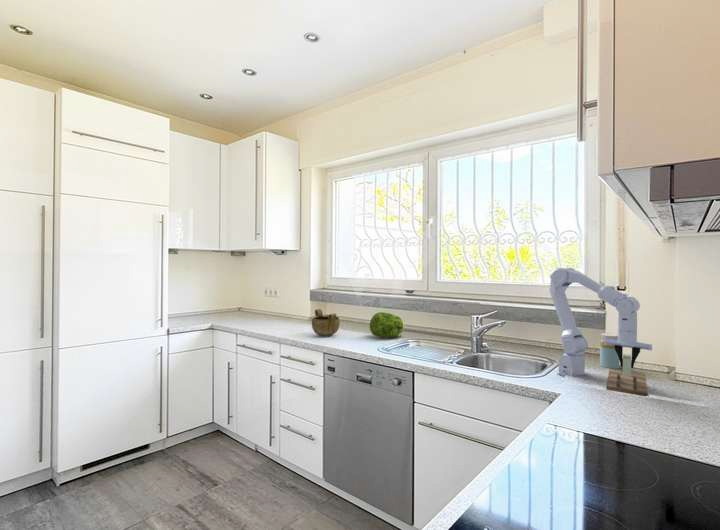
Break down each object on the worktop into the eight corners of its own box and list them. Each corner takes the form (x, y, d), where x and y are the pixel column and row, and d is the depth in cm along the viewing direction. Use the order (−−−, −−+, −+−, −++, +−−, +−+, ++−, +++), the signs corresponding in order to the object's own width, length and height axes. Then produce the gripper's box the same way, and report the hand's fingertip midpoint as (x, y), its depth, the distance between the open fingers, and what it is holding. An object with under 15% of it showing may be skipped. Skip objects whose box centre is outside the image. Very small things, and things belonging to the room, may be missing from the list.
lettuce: (408, 343, 226) (412, 318, 230) (379, 335, 216) (384, 309, 221) (392, 342, 240) (396, 318, 244) (364, 334, 230) (369, 309, 234)
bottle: (596, 367, 167) (596, 333, 167) (606, 365, 170) (607, 332, 169) (612, 372, 161) (612, 336, 160) (623, 370, 163) (623, 335, 163)
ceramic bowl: (305, 333, 239) (305, 309, 239) (329, 331, 248) (329, 308, 248) (321, 340, 220) (321, 314, 220) (346, 337, 229) (347, 312, 229)
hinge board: (647, 396, 132) (647, 386, 132) (606, 389, 139) (606, 380, 139) (645, 377, 153) (645, 369, 153) (609, 372, 160) (609, 364, 160)
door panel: (631, 376, 137) (631, 359, 137) (622, 375, 138) (622, 358, 138) (630, 370, 145) (631, 354, 145) (622, 369, 146) (623, 353, 146)
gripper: (603, 329, 142) (603, 366, 142) (652, 334, 134) (652, 373, 134) (604, 326, 148) (604, 362, 148) (651, 331, 139) (651, 368, 140)
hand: (626, 366), depth 141 cm, fingers closed on door panel, 2 cm apart
